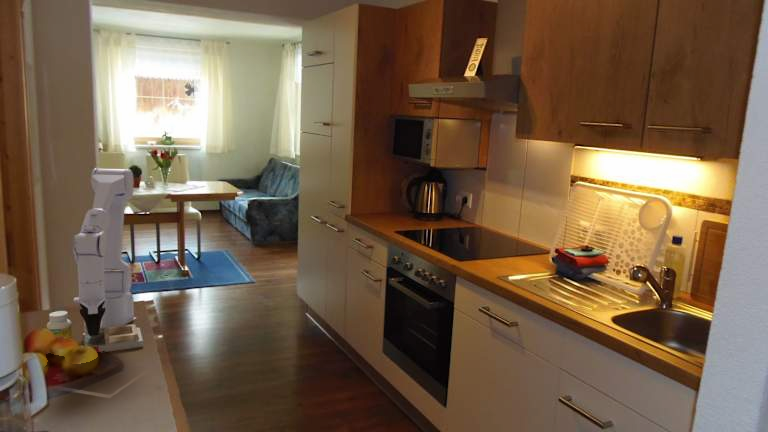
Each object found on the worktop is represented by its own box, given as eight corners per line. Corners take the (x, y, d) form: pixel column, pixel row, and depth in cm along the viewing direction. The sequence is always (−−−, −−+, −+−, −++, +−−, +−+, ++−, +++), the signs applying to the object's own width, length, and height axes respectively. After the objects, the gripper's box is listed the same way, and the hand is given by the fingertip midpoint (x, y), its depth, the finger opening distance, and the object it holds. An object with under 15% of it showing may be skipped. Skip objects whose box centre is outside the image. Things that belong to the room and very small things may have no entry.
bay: (83, 357, 137) (82, 347, 136) (83, 342, 145) (82, 333, 145) (143, 348, 143) (142, 339, 143) (139, 335, 152) (139, 326, 151)
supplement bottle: (71, 344, 144) (70, 308, 142) (73, 351, 140) (72, 315, 138) (47, 347, 141) (45, 311, 139) (48, 355, 137) (46, 318, 135)
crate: (105, 348, 140) (104, 338, 140) (104, 337, 147) (103, 327, 146) (137, 344, 144) (137, 334, 143) (135, 333, 150) (135, 324, 150)
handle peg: (92, 336, 144) (91, 310, 143) (106, 338, 144) (105, 312, 142) (81, 342, 140) (80, 316, 139) (95, 344, 140) (94, 318, 138)
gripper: (73, 273, 144) (75, 323, 146) (72, 290, 131) (75, 344, 133) (104, 271, 147) (105, 320, 149) (106, 287, 134) (108, 340, 137)
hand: (93, 331), depth 142 cm, fingers closed on handle peg, 4 cm apart
